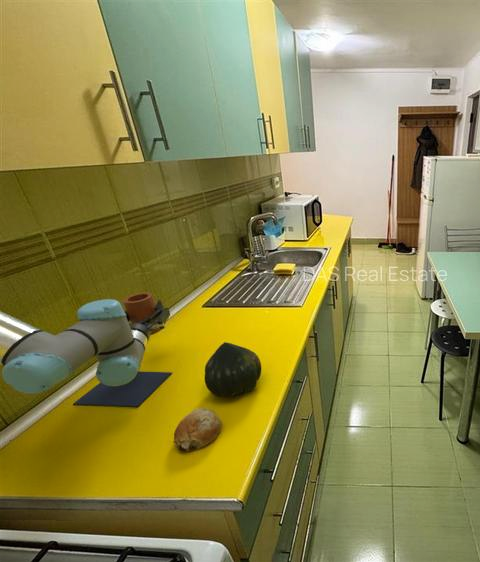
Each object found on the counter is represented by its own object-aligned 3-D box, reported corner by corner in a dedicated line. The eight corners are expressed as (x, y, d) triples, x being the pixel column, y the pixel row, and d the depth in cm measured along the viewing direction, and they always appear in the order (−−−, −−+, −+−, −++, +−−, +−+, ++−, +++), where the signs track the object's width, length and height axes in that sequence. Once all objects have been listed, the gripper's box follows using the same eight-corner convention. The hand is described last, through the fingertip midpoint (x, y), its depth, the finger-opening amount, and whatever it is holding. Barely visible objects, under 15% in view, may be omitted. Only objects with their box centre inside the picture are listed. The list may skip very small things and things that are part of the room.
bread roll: (227, 444, 76) (233, 413, 76) (185, 462, 67) (192, 427, 67) (203, 428, 81) (209, 398, 81) (162, 442, 72) (169, 409, 72)
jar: (133, 339, 94) (120, 304, 90) (138, 328, 100) (125, 295, 96) (161, 333, 97) (150, 299, 93) (164, 322, 103) (153, 290, 99)
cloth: (73, 405, 84) (72, 403, 84) (115, 371, 97) (115, 370, 97) (138, 407, 83) (137, 406, 83) (172, 373, 96) (171, 372, 96)
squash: (245, 396, 79) (250, 338, 84) (188, 399, 79) (197, 341, 84) (265, 394, 93) (268, 345, 97) (217, 397, 93) (222, 347, 97)
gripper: (87, 363, 79) (111, 323, 98) (178, 342, 87) (184, 309, 106) (76, 339, 76) (103, 303, 95) (171, 320, 84) (178, 290, 103)
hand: (145, 306), depth 100 cm, fingers closed on jar, 7 cm apart
